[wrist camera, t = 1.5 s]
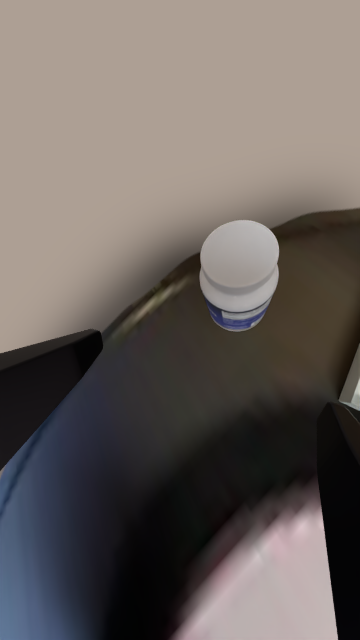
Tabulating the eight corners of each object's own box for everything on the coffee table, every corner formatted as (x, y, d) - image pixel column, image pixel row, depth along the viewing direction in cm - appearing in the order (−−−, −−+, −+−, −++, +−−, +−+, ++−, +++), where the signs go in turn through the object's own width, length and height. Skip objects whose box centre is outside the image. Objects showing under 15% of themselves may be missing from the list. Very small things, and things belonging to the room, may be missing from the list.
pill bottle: (206, 286, 23) (188, 223, 14) (259, 277, 22) (278, 201, 13) (212, 336, 22) (196, 301, 12) (270, 329, 20) (301, 285, 11)
